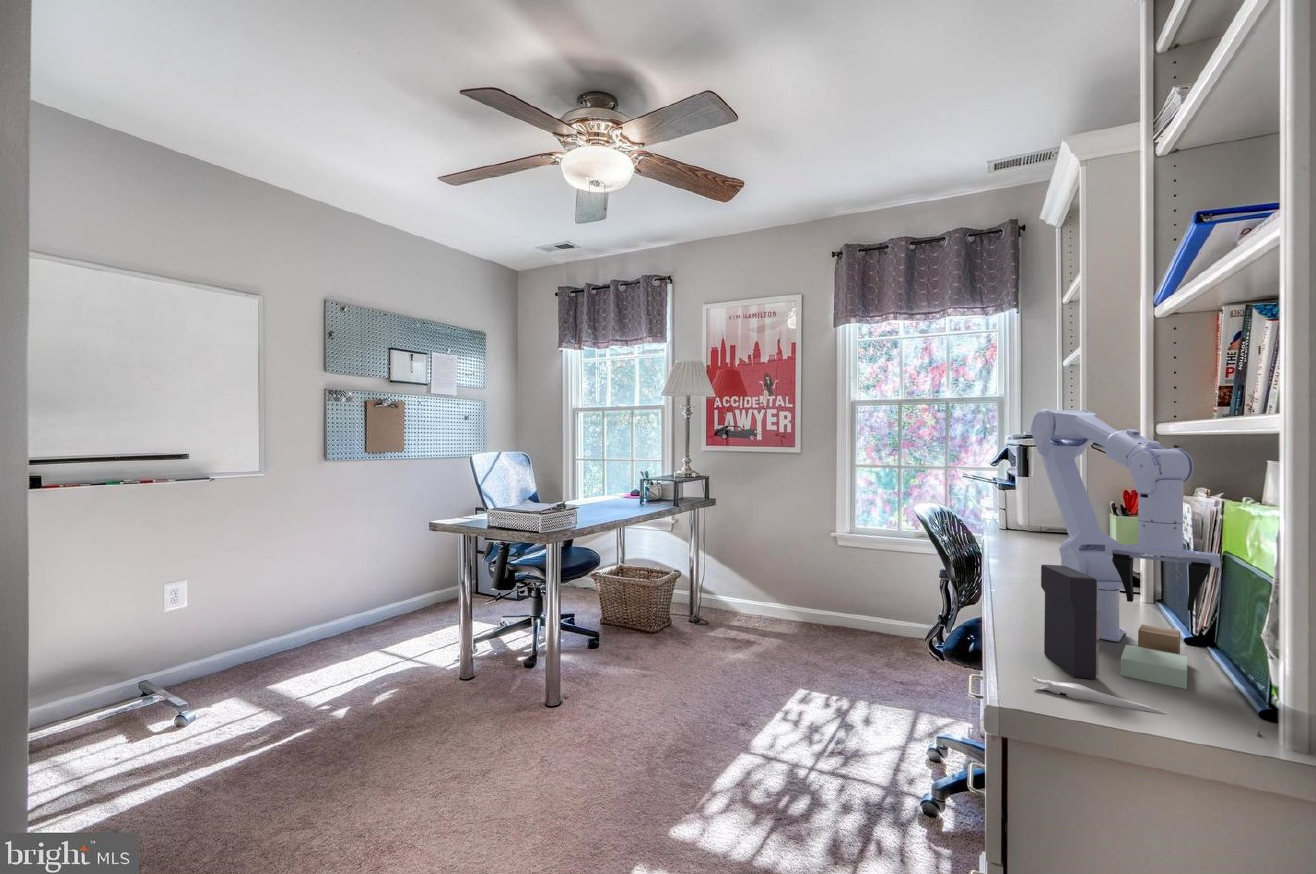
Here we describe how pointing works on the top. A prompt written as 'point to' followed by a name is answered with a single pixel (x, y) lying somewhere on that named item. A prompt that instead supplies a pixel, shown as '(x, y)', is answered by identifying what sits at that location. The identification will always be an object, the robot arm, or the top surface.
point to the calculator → (1071, 620)
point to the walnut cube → (1159, 639)
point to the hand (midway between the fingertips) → (1159, 605)
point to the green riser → (1154, 666)
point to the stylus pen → (1090, 695)
